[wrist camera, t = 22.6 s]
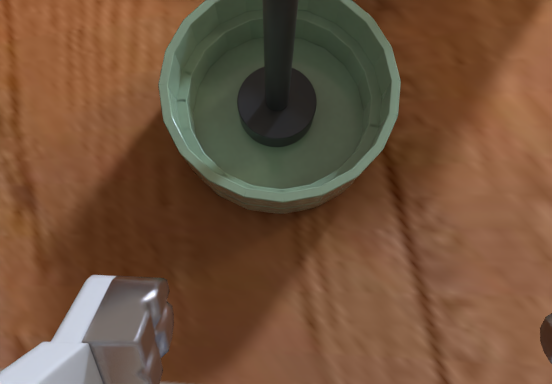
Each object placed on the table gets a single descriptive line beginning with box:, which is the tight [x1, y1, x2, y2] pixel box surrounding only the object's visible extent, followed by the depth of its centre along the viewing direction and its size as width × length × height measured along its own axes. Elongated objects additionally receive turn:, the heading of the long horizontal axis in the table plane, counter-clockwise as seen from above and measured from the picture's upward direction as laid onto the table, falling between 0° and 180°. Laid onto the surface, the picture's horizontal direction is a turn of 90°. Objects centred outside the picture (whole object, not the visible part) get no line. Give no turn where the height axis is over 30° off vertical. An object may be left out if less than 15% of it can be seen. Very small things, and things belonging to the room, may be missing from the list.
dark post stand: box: [237, 0, 317, 147], centre depth 23 cm, size 6×6×16 cm
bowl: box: [158, 0, 401, 214], centre depth 28 cm, size 15×15×6 cm
